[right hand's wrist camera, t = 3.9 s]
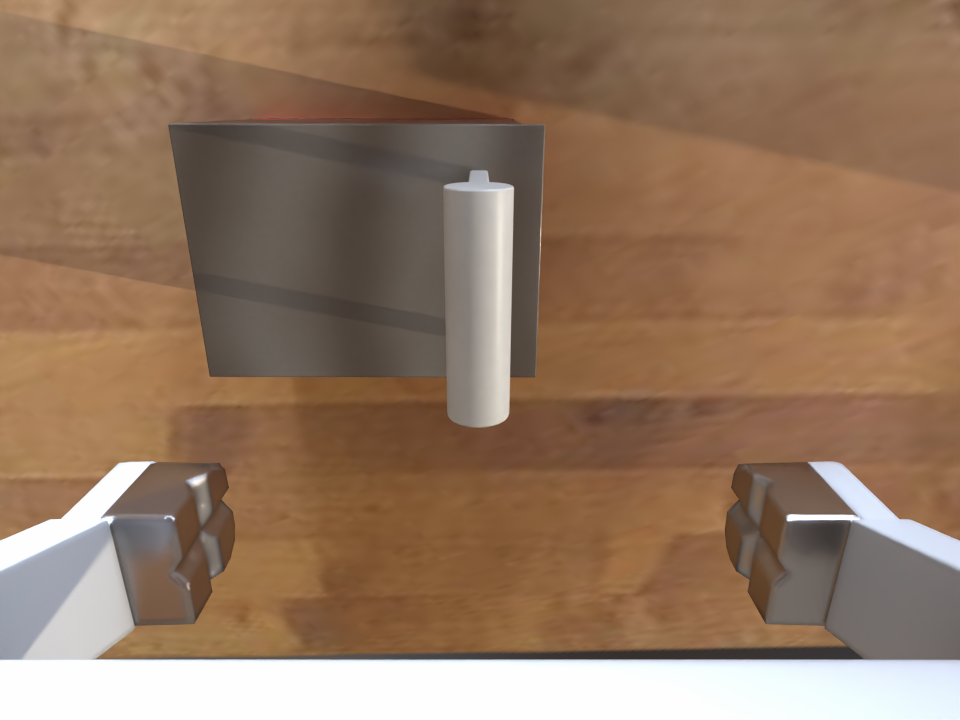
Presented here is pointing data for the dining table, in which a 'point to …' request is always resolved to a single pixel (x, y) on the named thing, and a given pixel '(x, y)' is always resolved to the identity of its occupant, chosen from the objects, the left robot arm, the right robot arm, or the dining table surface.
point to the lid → (368, 252)
